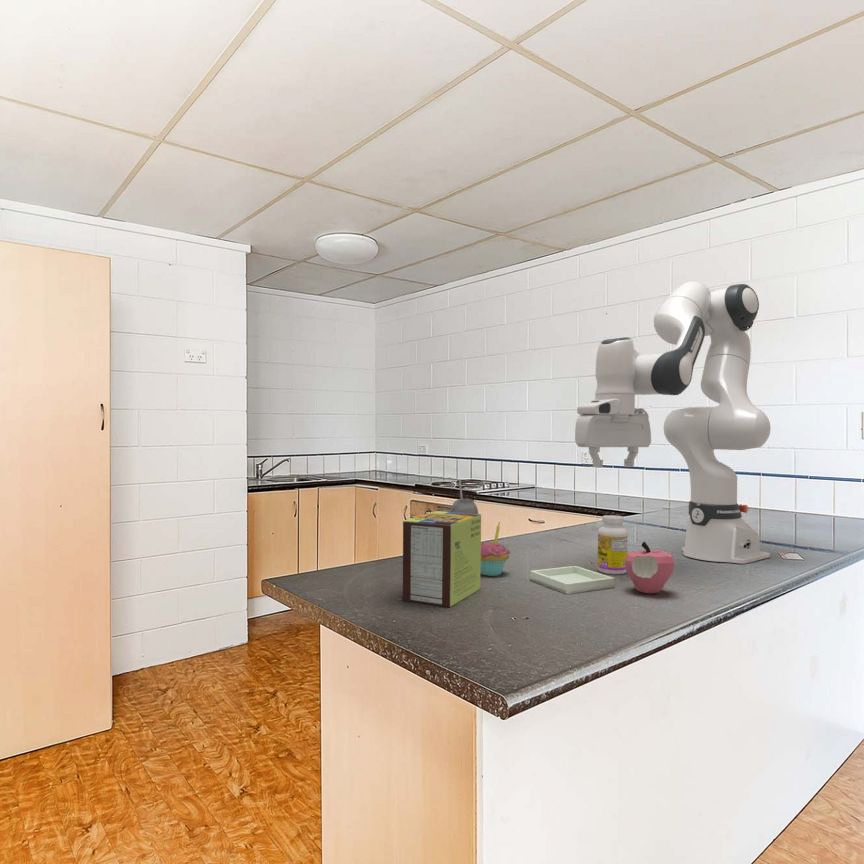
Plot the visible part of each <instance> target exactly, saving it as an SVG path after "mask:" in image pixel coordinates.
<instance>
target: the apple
mask: <svg viewBox="0 0 864 864" xmlns="http://www.w3.org/2000/svg"><path fill="white" fill-rule="evenodd" d="M641 547H642V548H643V550H634V551H631V552H629V553H627V557H626V559H625V567H626V571H627V572H626V573H627V574H628V576H629V578H630V579H631V580H630V581H631V582H632V583H633V585H634V587H635V589H636V590H637V591H639V592H640V593H642V594H643V593H644V594H649V595H650V594H653V595H654V594H657V593H659V592H661V591H662V590H663V589H664V586H665V585H666V583H667V581H668V580H669V579H670V577H671V575H672V574H673V570H674V567H675V560H674V557H673V555H672V554H671V553H669V552H667V551H663V550H658V549H656V550H651V549H650V547H649V545H648V544H647V542H646V541H644V542H642V543H641Z"/></svg>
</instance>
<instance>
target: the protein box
mask: <svg viewBox="0 0 864 864" xmlns="http://www.w3.org/2000/svg"><path fill="white" fill-rule="evenodd" d="M481 543H482V514H481V513H480V514H479V513H478V514H469V513H455V512H450V511H443V510H442V511H440V510H435V511H432V512H429V513H426V514H421V515H418V516H415V517H411V518H408V519H404V520H403V521H402V601H406V602H411V603H412V602H413V603H420V604H427V605H433V606H440V607H447V608H451V607H453V606H454V605H456V604H458V603H460V602H461V601H463V600H465V599H466V598H468V597H469V596H471V595H473V594H474V593H476V592H477V591H479V590H481V573H480V571H481Z"/></svg>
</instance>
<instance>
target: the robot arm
mask: <svg viewBox="0 0 864 864" xmlns="http://www.w3.org/2000/svg"><path fill="white" fill-rule="evenodd" d="M759 308H760V302H759V297H758V295H757V293H756V291H755V290H754V289H753V288H752V287H751V286H750V285H748V284H745V283H738V284H732V285H730V286H728V287H725V288H721V289H717V290H715V291H710V289H709V288H708V287H707V286H706V285H705V284H704V283H702V282H699V281H696V280H695V281H694V280H691V281H686V282H684V283H682V284H680V285H679V286H678V287H677V288H675V289H674V290H673V291H672V292H671V293H670V294H669V295H668V296H667V297H666V298H665V299H664V300H663V302H662V303H661V304H660V306H659V307H658V308H657V310H656V312H655V314H654V317H653V326H654V327H653V328H654V330H655V332H656V334H657V335H658V336H659V337H660V339H662V340H663V341H665V342H666V343H668V344H671V345H675V346H674V349H673V348H672V349H671V350H668V351H662V352H655V353H644V354H641V352H638V350H636V349H635V346H634V341H633V339H632V338H630V337H615V338H610V339H608V338H607V339H604V340H602V341H601V342H600V343H599V344H598V348H597V352H596V359H595V380H596V390H595V393H594V394H595V395H594V399H592V400H590V401H587V402H585V403H581V404H578V405H577V407H576V412H577V414H578V417H577V418H576V422H575V426H574V427H575V429H574V442H575V444H576V445H577V447H578V448H588V453H589V456H590V457H591V460H592V467H593V468H603V466H604V464H603V463H604V459H601V458H600V455H599V453H600V452H601V451H600V448H627V452H628V454H627V457H626V458H624V459H623V462H624V463H623V466H624V467H625V468H633V467H635V459H636V457H637V456H638V453H639V448H648V447H650V445H651V443H652V432H651V424H650V420H649V419H650V418H649V413H648V412H647V411H646V410H645V409H644V408H636V405H635V403H636V399H635V398H636V395H637V396H639V395H641V396H647V395H663V396H664V395H665V396H679V395H681V394H682V393H684V391H685V390H686V389H687V388H689V385H690V384H691V382H692V379H693V371H694V366H695V364H696V362H697V358H698V355H699V354H700V351H701V348H702V346H703V342H704V340H705V337H708V336H710V345H709V347H708V350H707V354H706V357H705V361H704V365H703V371H702V375H701V379H700V380H701V381H700V389H701V392H702V393H703V395H705V397H706V398H708V399H710V400H711V401H713V402H715V403H717V404H718V405H717V406H713V407H712V406H711V407H710V406H708V407H707V406H706V407H705V406H704V407H703V406H702V407H700V406H699V407H698V406H697V407H696V406H695V407H693V406H692V407H685V408H684V407H683V408H680V409H675V410H672V411H671V412H669V414H667V416H666V417H665V420H664V423H663V434H664V437H665V439H666V440H667V442H668V443H670V445H671V446H672V447H674V448H675V449H676V450H677V451H678V452H679V453H680V454H681V456H682V457H683V459H684V461H685V462H686V465H687V468H688V471H689V472H688V473H689V479H690V480H689V481H690V483H689V484H690V501H688V506H687V507H688V508H687V509H688V515H689V519H688V521H687V524H686V531H685V540H684V546H683V545H682V547H681V551H683V553H682V554H683V555H684V556H685V557H687V558H690V559H691V558H692V559H696V560H701V561H709V562H716V563H719V562H720V563H733V564H743V565H744V564H749V563H753V562H756V561H759V560H764V559H768V558H771V554H770V552H768V551H764V550H761V543H760V536H759V534H758V532H757V531H756V530H755V529H753V527H751V526H750V525H749V524H748V523H747V522H746V521H745V520H744V519H743V518H742V517H743V516H742V513H746V514H747V513H748V511H749V510H750V509H749V506H748V505H747V504H741V503H740V504H739V503H738V476H737V474H736V472H735V470H733V468H731V467H730V466H728V465H727V464H725V463H723V462H722V461H719V460H718V459H717V457H716V456H715V452H714V451H715V450H721V451H723V450H726V451H727V450H729V451H745V450H752V449H756V448H757V449H758V448H761V447H762V446H764V445H765V443H766V442H767V441H768V440H769V438H770V434H771V431H772V430H771V421H770V420H769V418H768V416H767V415H766V413H765V412H764V411H762V409H759V407H757V406H756V405H755V404H754V403H752V402H751V400H750V397H749V396H748V391H747V390H748V387H747V386H748V377H749V370H750V364H751V352H752V349H751V339H750V337H749V335H748V333H747V331H749V330H750V329H751V328H752V327H753V325H754V321H755V320H756V318H757V315H758V312H759Z"/></svg>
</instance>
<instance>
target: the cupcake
mask: <svg viewBox="0 0 864 864" xmlns="http://www.w3.org/2000/svg"><path fill="white" fill-rule="evenodd" d="M500 523H501V522H500V521H499V522H498V524H497V525H496V528H495V529H496V530H495V536H494V541H491V542H490V541H489V542H481V571H480V575H483V576H489V577H490V576H491V577H497V576H501V575H502V572H503V570H504V569H503V568H504V566H505V563H506V562H507V561H508V560H509V558H510V554H511V552H510V551H509V549H508V548H507V547H506V546H504V545H503V544H501V543H499V542H498V538H499V533H500V527H501V524H500Z"/></svg>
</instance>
